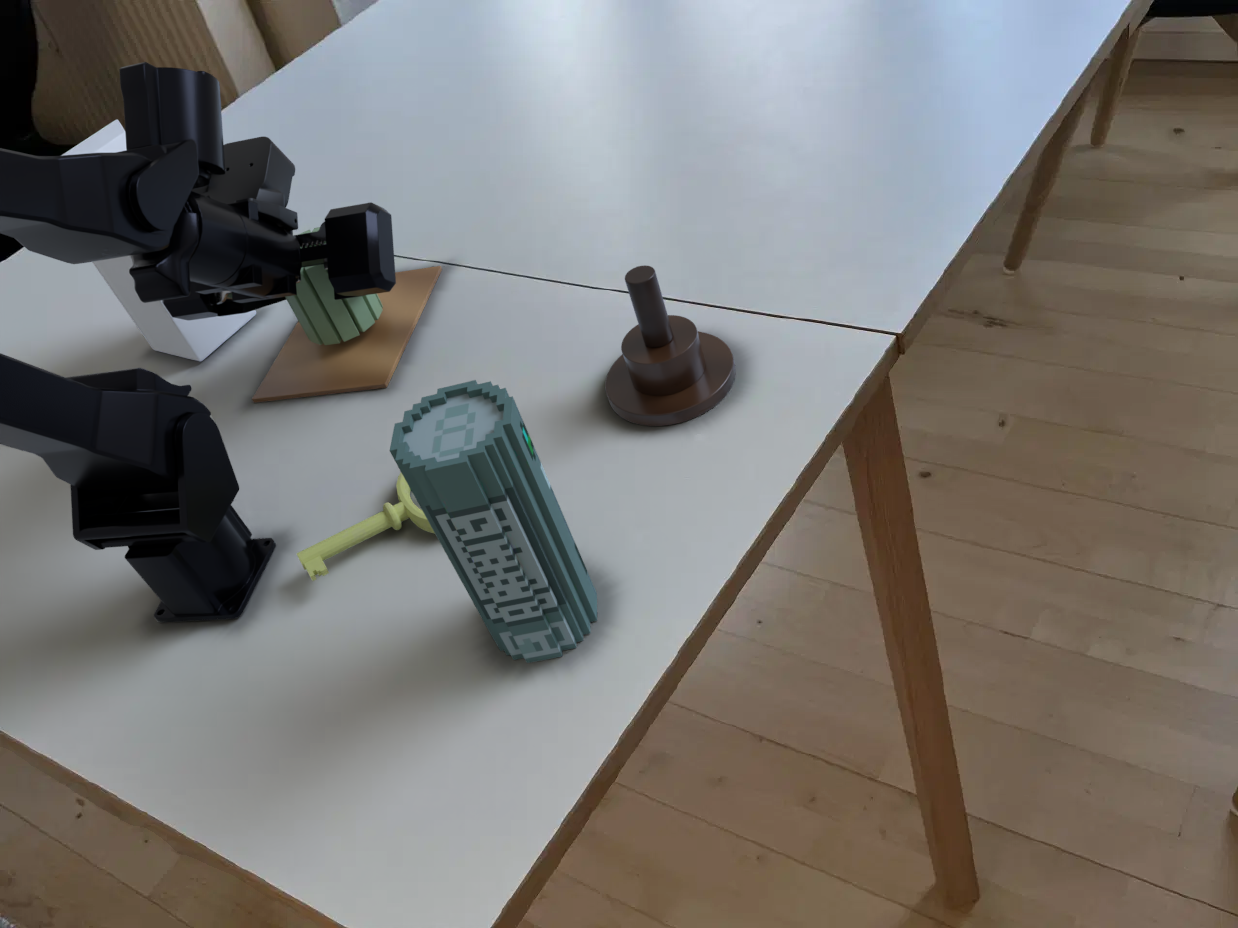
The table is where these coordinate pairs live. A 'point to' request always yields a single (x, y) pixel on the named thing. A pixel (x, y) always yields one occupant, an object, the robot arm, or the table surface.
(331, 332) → the ring
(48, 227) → the robot arm
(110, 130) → the milk carton
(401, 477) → the key
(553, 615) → the can
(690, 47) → the table surface
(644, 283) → the ring holder
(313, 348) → the cork mat
